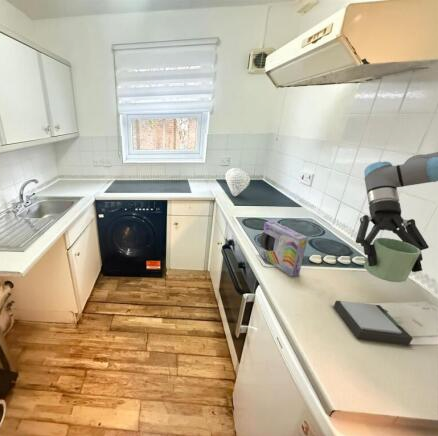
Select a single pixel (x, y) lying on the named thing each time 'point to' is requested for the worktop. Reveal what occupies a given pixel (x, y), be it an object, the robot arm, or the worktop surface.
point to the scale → (371, 323)
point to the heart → (237, 181)
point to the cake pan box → (283, 247)
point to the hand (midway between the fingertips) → (394, 268)
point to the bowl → (393, 259)
